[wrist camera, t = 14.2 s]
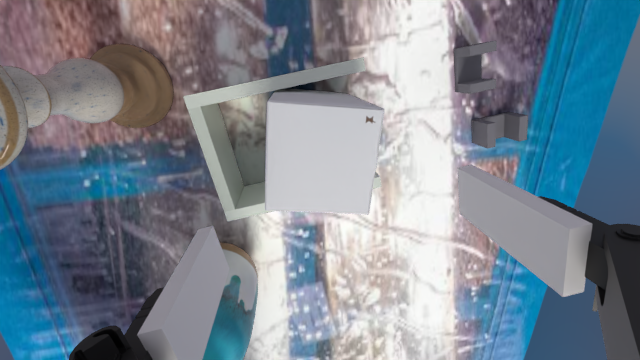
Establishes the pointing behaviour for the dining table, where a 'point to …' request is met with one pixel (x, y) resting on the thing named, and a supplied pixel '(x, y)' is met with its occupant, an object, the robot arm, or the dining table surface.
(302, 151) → the supplement box
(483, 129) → the clip
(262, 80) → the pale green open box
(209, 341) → the vase
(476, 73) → the clip
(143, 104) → the candle holder
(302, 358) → the dining table surface
